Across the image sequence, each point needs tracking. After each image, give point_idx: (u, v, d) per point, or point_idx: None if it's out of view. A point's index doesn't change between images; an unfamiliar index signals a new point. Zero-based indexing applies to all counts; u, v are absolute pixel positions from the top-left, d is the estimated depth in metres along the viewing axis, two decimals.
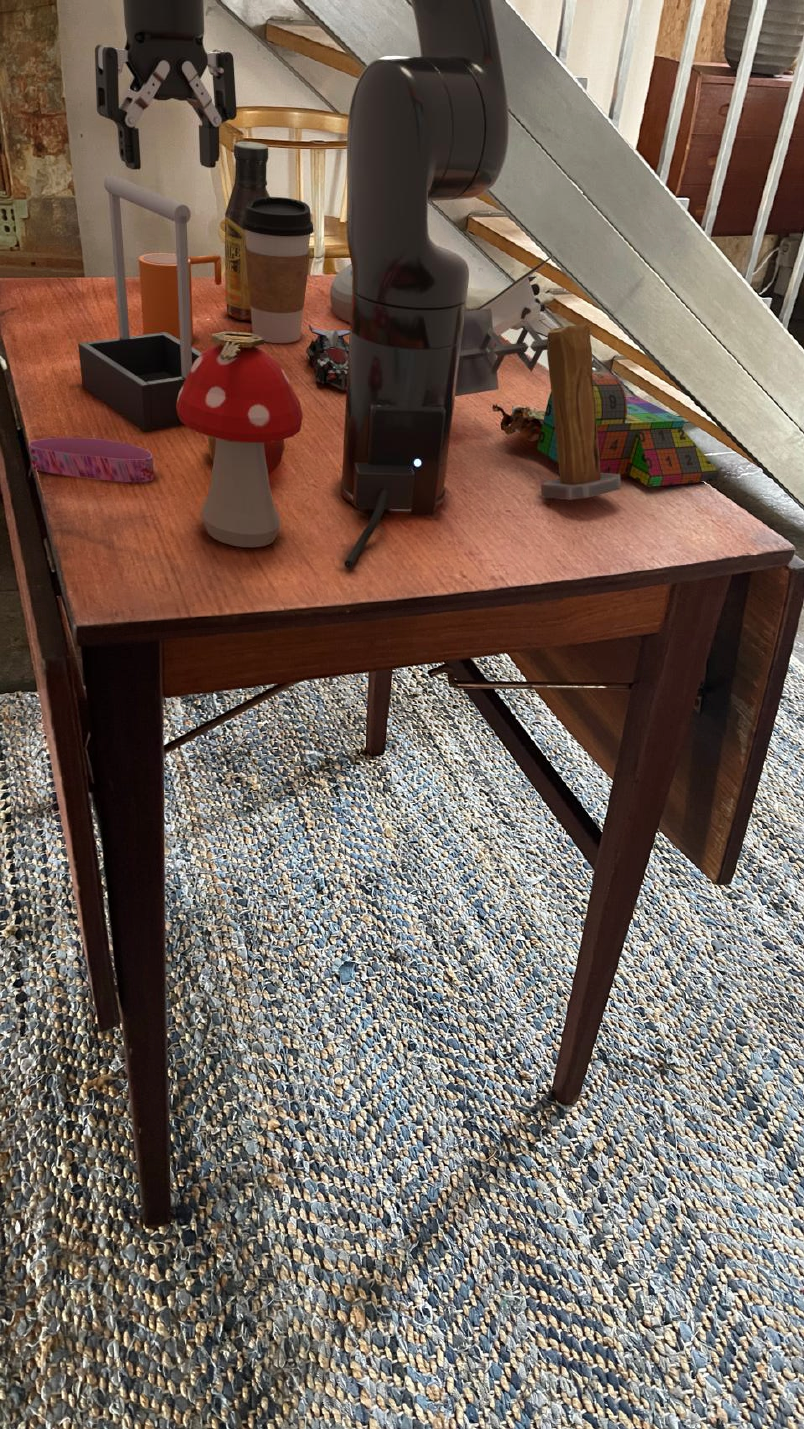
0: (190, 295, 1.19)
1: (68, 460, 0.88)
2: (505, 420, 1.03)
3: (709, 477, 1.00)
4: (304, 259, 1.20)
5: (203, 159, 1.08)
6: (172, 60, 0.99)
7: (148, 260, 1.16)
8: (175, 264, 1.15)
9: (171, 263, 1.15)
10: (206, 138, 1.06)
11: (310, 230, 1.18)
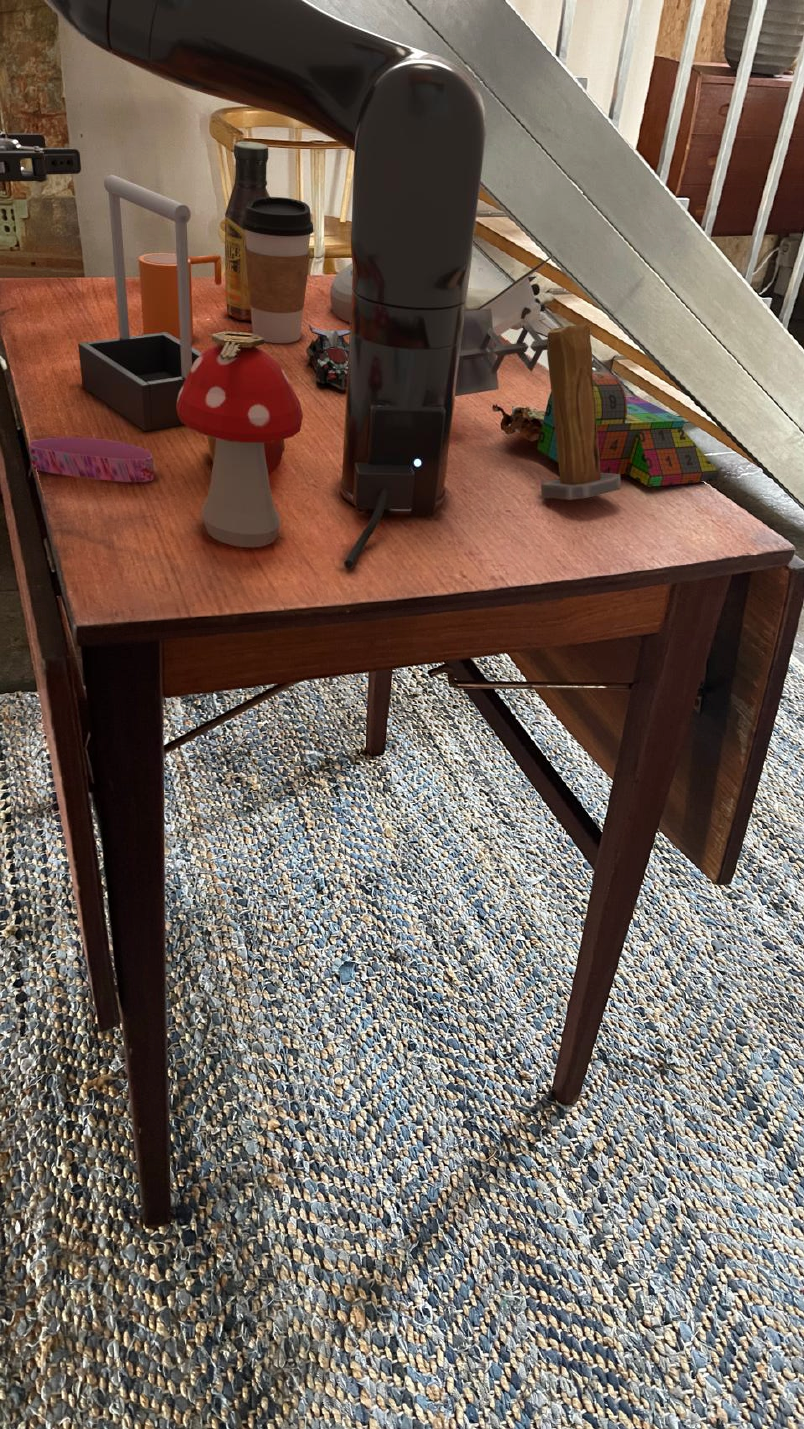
0: (190, 295, 1.19)
1: (68, 460, 0.88)
2: (505, 420, 1.03)
3: (709, 477, 1.00)
4: (304, 259, 1.20)
5: None
6: None
7: (148, 260, 1.16)
8: (175, 264, 1.15)
9: (171, 263, 1.15)
10: (19, 141, 1.05)
11: (310, 230, 1.18)
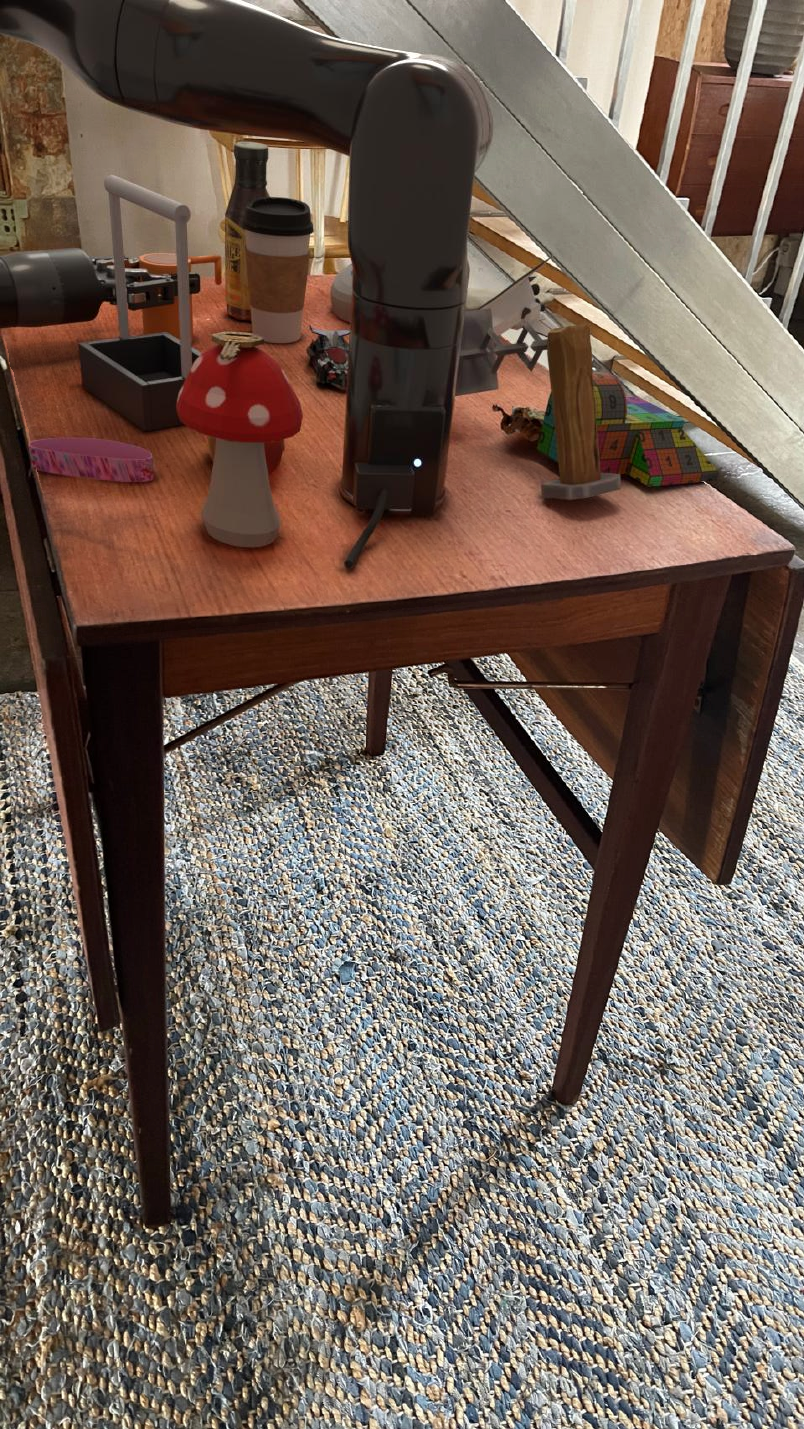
0: (190, 295, 1.19)
1: (68, 460, 0.88)
2: (505, 420, 1.03)
3: (709, 477, 1.00)
4: (304, 259, 1.20)
5: None
6: (102, 272, 1.13)
7: (148, 260, 1.16)
8: (175, 264, 1.15)
9: (171, 263, 1.15)
10: None
11: (310, 230, 1.18)
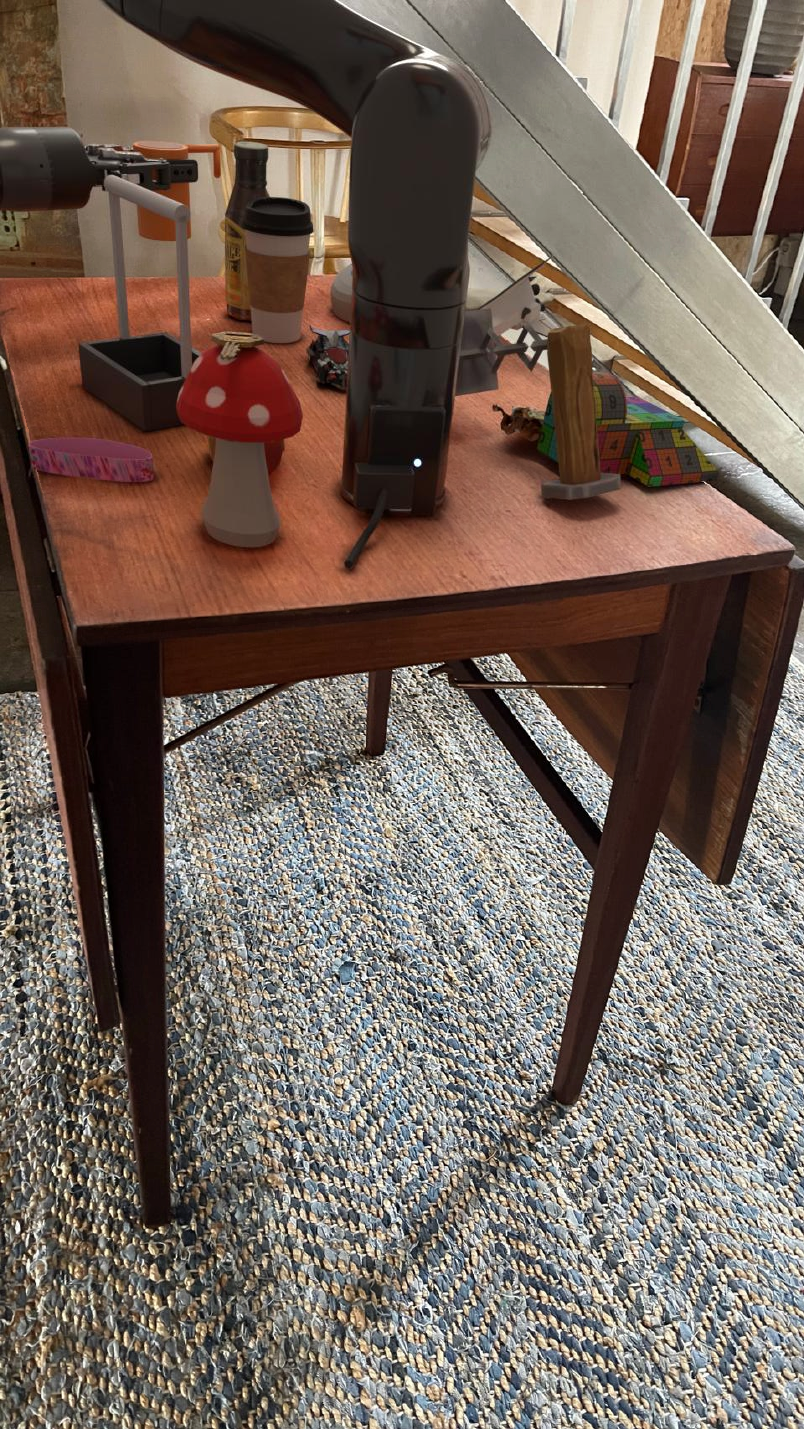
0: (187, 185, 1.12)
1: (68, 460, 0.88)
2: (505, 420, 1.03)
3: (709, 477, 1.00)
4: (304, 259, 1.20)
5: None
6: (93, 156, 1.06)
7: (143, 145, 1.09)
8: (171, 149, 1.08)
9: (167, 148, 1.09)
10: None
11: (310, 230, 1.18)
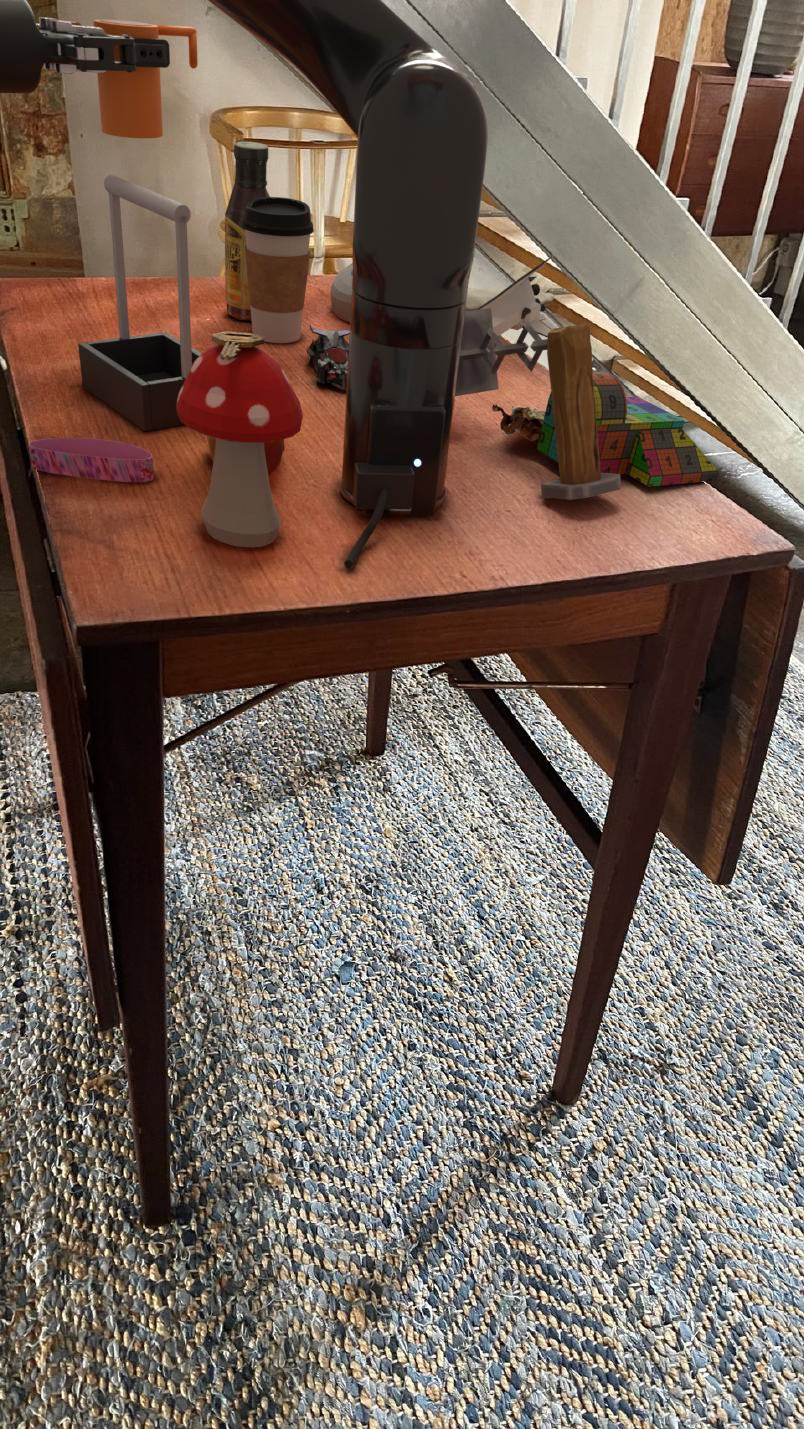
0: (158, 72, 0.96)
1: (68, 460, 0.88)
2: (505, 420, 1.03)
3: (709, 477, 1.00)
4: (304, 259, 1.20)
5: None
6: (46, 30, 0.91)
7: (105, 21, 0.93)
8: (138, 25, 0.93)
9: (133, 24, 0.93)
10: None
11: (310, 230, 1.18)
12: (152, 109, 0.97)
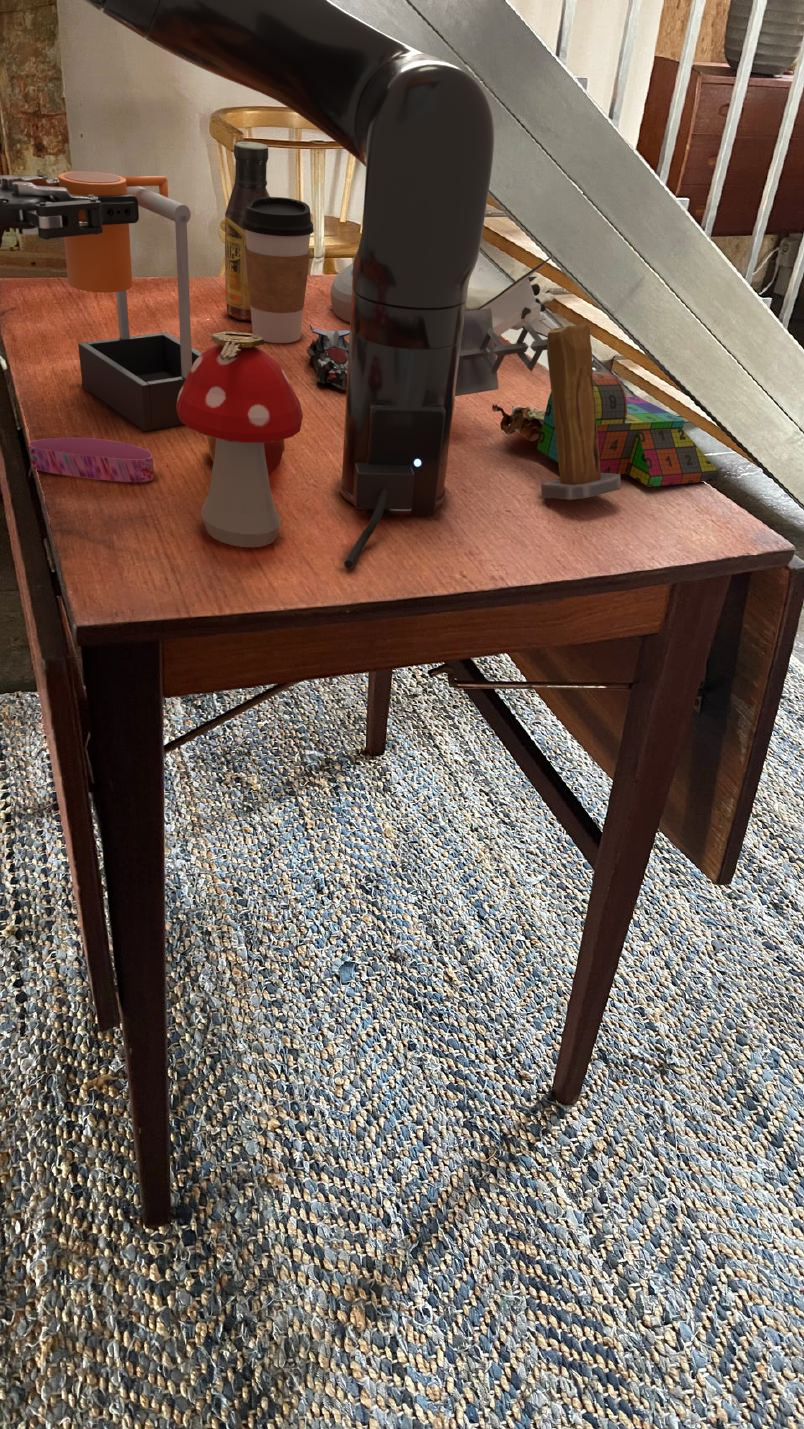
0: (126, 226, 0.92)
1: (68, 460, 0.88)
2: (505, 420, 1.03)
3: (709, 477, 1.00)
4: (304, 259, 1.20)
5: None
6: (8, 191, 0.87)
7: (70, 178, 0.89)
8: (105, 183, 0.89)
9: (100, 182, 0.89)
10: None
11: (310, 230, 1.18)
12: (121, 263, 0.93)
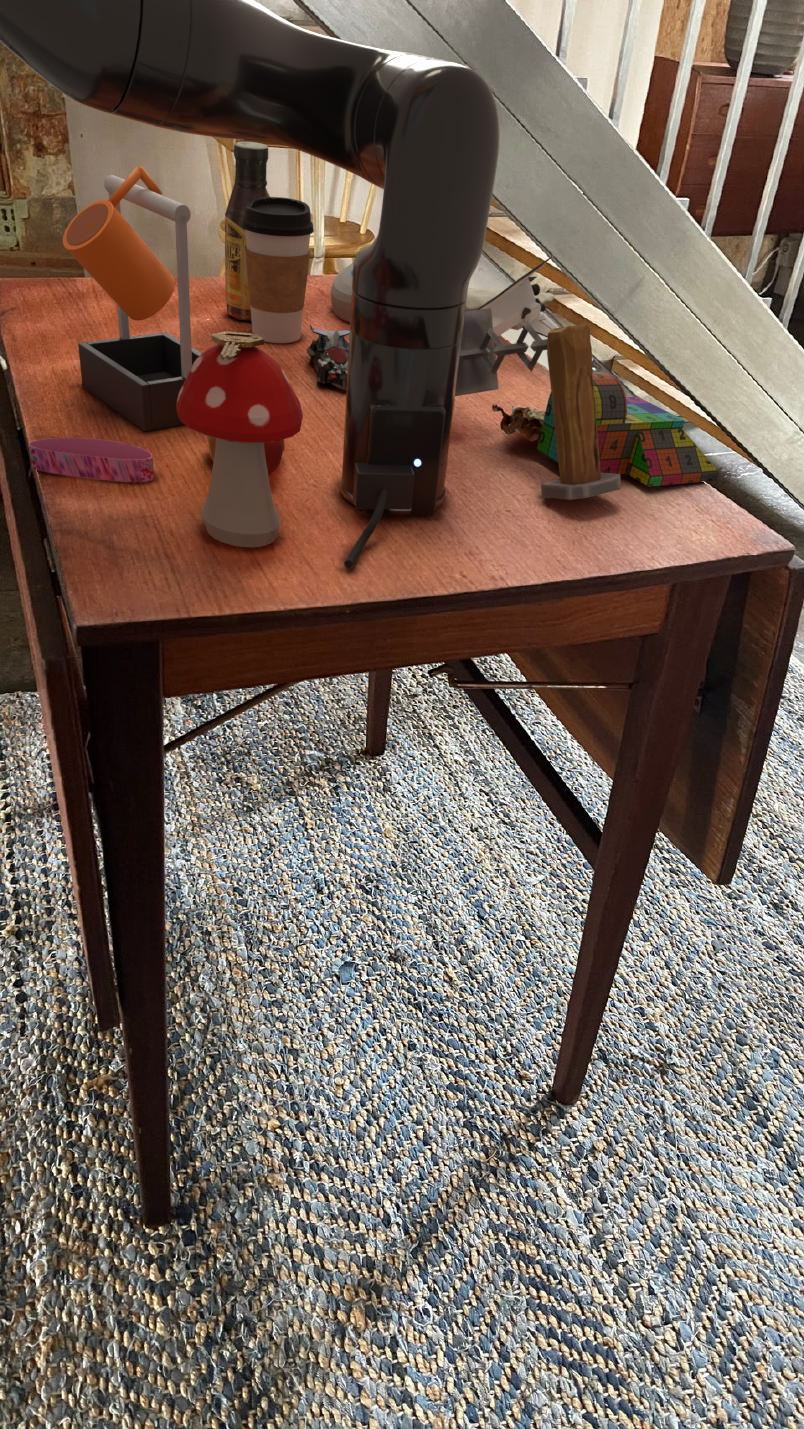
0: (138, 244, 0.94)
1: (68, 460, 0.88)
2: (505, 420, 1.03)
3: (709, 477, 1.00)
4: (304, 259, 1.20)
5: None
6: None
7: (72, 242, 0.92)
8: (99, 231, 0.91)
9: (95, 231, 0.91)
10: None
11: (310, 230, 1.18)
12: (155, 278, 0.96)
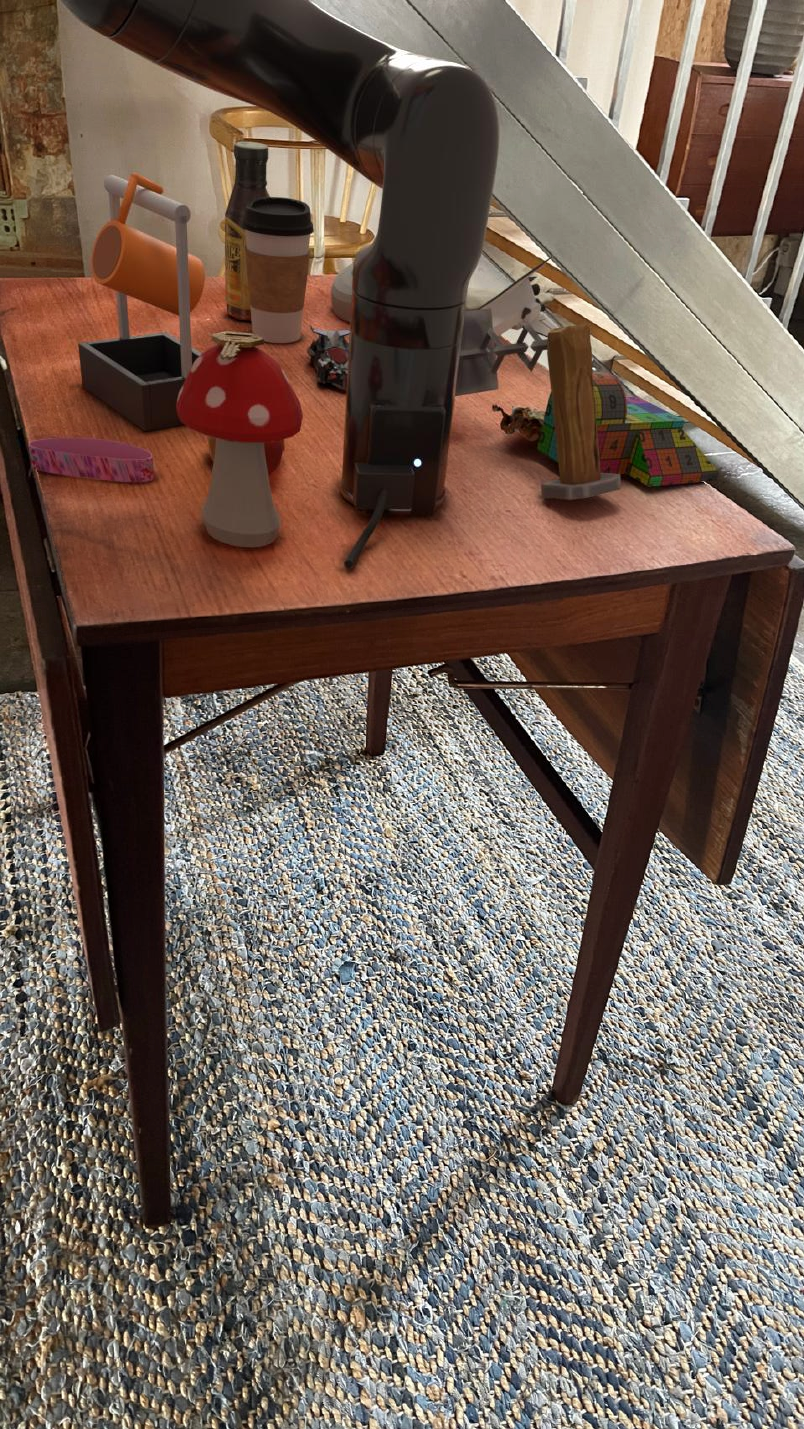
0: (158, 250, 0.95)
1: (68, 460, 0.88)
2: (505, 420, 1.03)
3: (709, 477, 1.00)
4: (304, 259, 1.20)
5: None
6: None
7: (100, 275, 0.95)
8: (119, 259, 0.93)
9: (116, 260, 0.93)
10: None
11: (310, 230, 1.18)
12: None
